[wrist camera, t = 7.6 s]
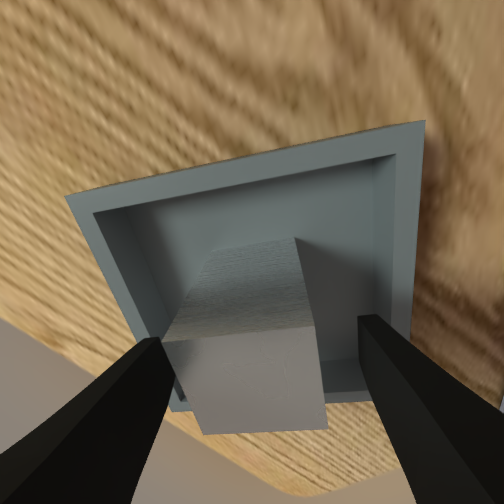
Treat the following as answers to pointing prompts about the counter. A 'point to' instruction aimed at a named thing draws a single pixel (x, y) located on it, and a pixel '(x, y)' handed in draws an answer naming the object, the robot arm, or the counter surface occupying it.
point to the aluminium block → (249, 343)
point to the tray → (273, 236)
